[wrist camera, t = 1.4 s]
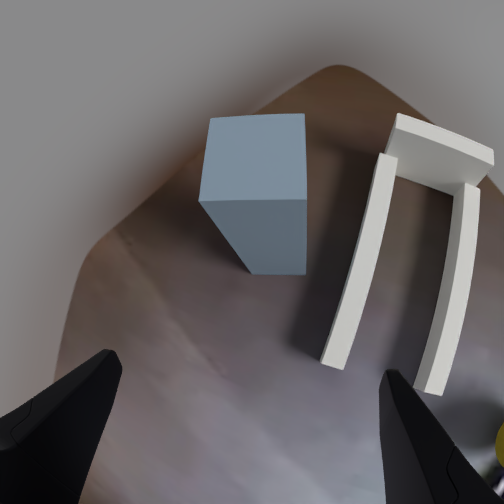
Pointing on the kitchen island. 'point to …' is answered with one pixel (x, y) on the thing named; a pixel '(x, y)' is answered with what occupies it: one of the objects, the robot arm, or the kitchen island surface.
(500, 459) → the lemon
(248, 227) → the blue gray block
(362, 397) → the kitchen island surface
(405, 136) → the track
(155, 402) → the kitchen island surface
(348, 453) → the kitchen island surface
